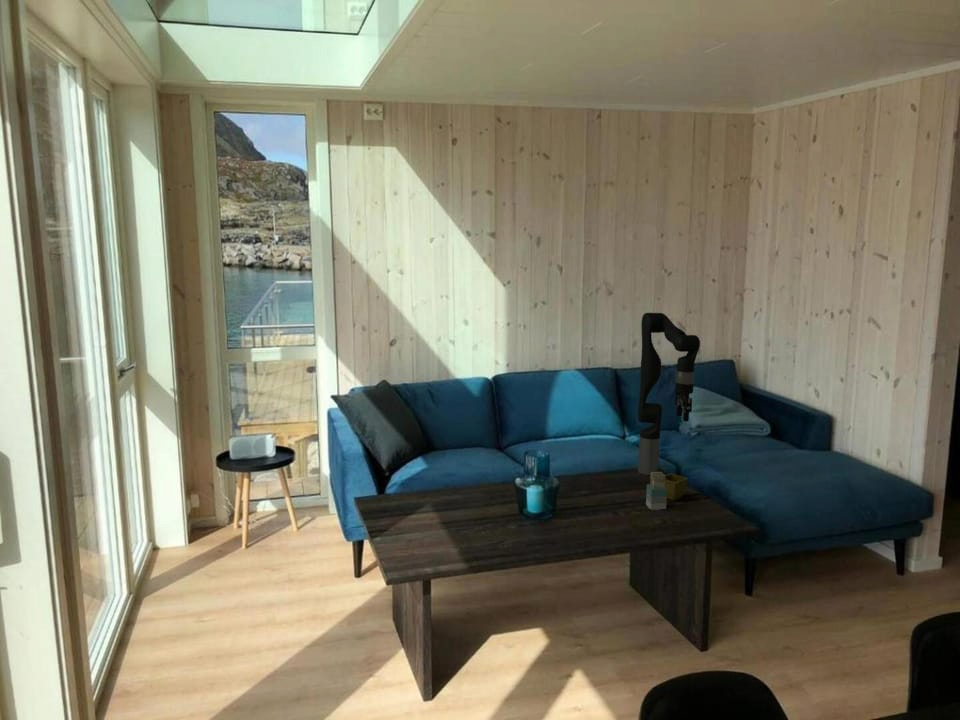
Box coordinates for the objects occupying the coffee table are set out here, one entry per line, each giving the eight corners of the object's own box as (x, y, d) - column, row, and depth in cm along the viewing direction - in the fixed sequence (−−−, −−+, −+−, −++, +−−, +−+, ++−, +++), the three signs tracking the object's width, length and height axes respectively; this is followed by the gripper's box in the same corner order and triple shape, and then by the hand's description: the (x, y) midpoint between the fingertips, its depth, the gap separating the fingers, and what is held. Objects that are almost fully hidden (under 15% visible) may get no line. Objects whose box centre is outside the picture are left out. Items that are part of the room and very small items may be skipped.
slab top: (646, 491, 319) (646, 484, 318) (661, 490, 319) (661, 484, 319) (651, 496, 312) (651, 489, 312) (666, 496, 313) (667, 489, 313)
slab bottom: (645, 504, 320) (646, 497, 319) (660, 504, 321) (661, 497, 320) (650, 510, 314) (651, 503, 313) (665, 510, 314) (666, 503, 314)
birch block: (650, 484, 318) (650, 472, 317) (661, 484, 318) (661, 471, 317) (653, 488, 313) (654, 475, 312) (664, 488, 313) (665, 475, 312)
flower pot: (674, 503, 322) (675, 482, 320) (657, 497, 328) (658, 477, 327) (686, 498, 327) (688, 478, 326) (669, 493, 334) (671, 473, 332)
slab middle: (646, 498, 319) (646, 491, 319) (661, 497, 320) (661, 490, 319) (651, 503, 313) (651, 496, 312) (666, 503, 314) (666, 496, 313)
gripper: (670, 378, 333) (668, 414, 336) (681, 384, 319) (679, 422, 322) (687, 378, 334) (685, 414, 337) (699, 384, 320) (696, 422, 323)
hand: (682, 418), depth 329 cm, fingers open, 8 cm apart
